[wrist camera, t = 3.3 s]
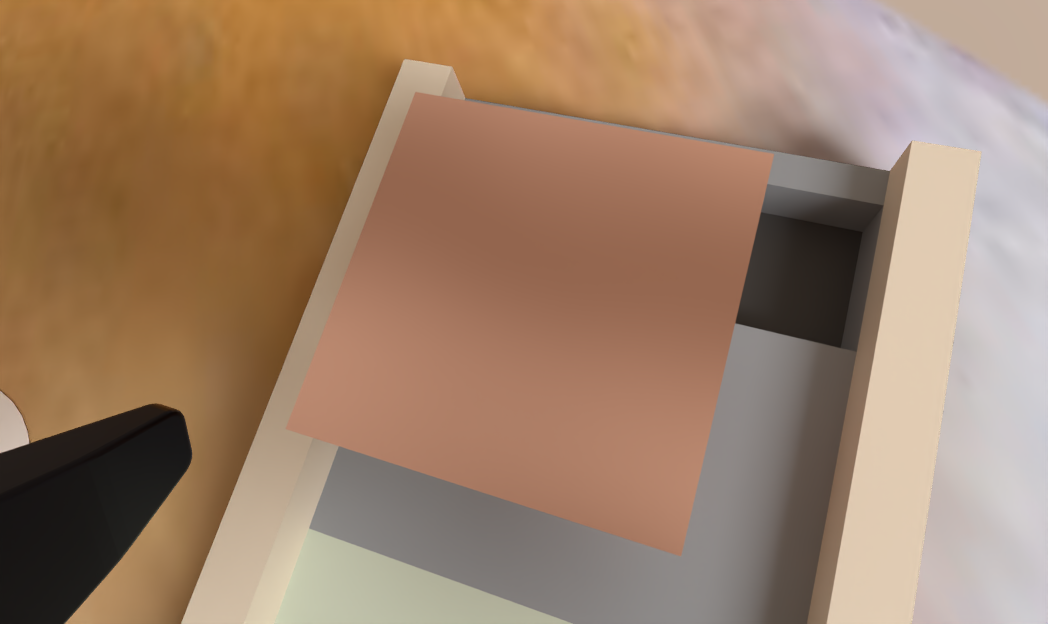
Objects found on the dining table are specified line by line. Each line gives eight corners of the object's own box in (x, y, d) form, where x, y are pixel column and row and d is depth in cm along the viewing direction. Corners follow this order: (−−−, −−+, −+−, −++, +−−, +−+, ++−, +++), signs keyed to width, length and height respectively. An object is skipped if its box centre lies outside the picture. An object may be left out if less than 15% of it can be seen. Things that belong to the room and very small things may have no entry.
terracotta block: (658, 534, 16) (681, 556, 7) (463, 472, 17) (285, 428, 8) (706, 336, 17) (774, 153, 8) (521, 291, 18) (415, 91, 10)
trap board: (740, 1292, 13) (774, 1550, 10) (135, 945, 17) (11, 1050, 13) (921, 215, 19) (981, 151, 16) (439, 126, 22) (404, 59, 19)
